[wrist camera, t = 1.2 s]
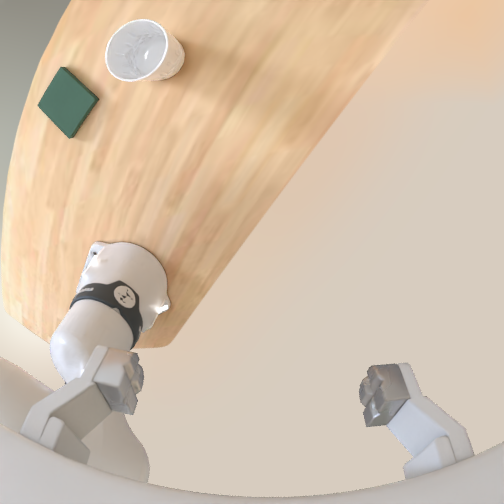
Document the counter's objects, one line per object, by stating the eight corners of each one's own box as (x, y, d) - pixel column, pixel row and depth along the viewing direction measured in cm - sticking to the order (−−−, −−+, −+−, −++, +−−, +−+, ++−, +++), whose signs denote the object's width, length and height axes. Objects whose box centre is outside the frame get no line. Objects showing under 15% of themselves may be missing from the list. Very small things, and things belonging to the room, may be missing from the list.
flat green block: (73, 137, 38) (69, 138, 37) (41, 104, 35) (37, 105, 34) (99, 99, 36) (95, 99, 35) (64, 67, 32) (60, 66, 31)
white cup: (197, 39, 32) (178, 23, 23) (178, 89, 36) (154, 87, 27) (147, 31, 31) (118, 16, 22) (130, 78, 34) (97, 76, 26)
